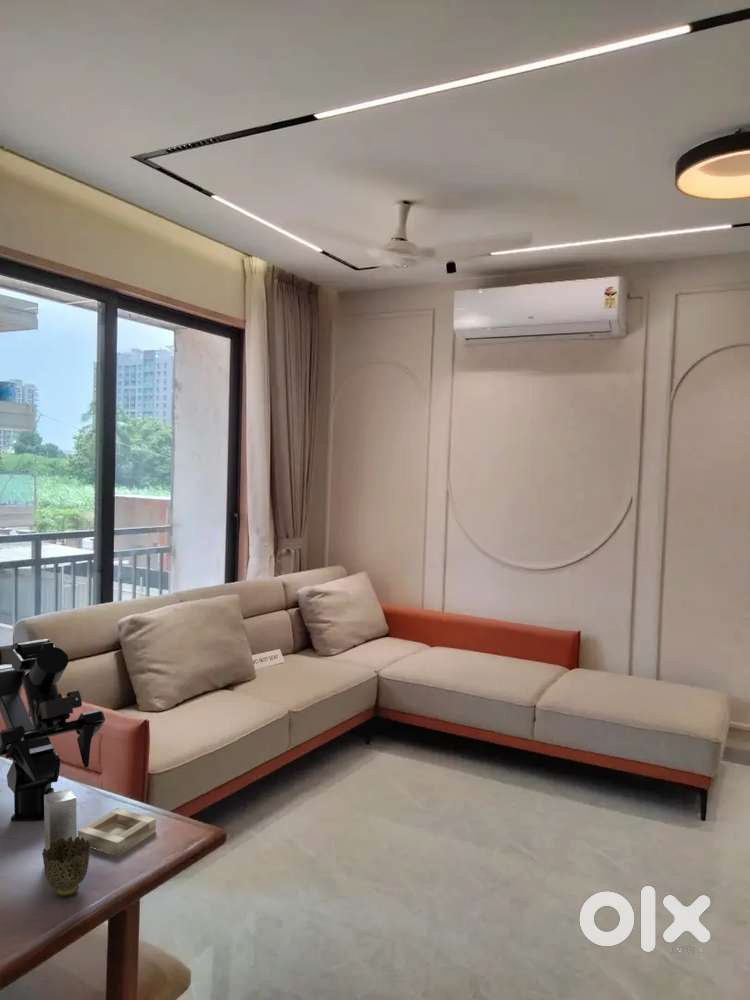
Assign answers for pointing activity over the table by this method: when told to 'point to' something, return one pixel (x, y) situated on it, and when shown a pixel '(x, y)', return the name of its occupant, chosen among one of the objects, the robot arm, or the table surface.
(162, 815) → the table surface
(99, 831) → the socket block
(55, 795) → the steel bar
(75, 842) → the cup
